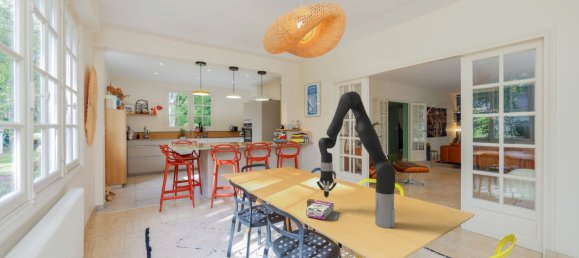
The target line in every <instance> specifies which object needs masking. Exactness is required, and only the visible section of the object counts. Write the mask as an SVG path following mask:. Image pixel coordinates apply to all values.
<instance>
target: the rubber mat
mask: <svg viewBox="0 0 579 258" xmlns="http://www.w3.org/2000/svg"><path fill="white" fill-rule="evenodd" d="M339 214H340V211H335V210H333V212H332V213H330V214H329V215H328V216H327V217H326V218H325V219H324V220H329V221H337V220H338V217H339ZM307 217H308V218H310V217H309V216H307ZM311 218H313V219H314V217H311Z"/></svg>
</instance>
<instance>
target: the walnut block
mask: <svg viewBox="0 0 579 258" xmlns="http://www.w3.org/2000/svg"><path fill="white" fill-rule="evenodd" d="M314 202H315V199H314V198H313V199H312V198H308V199H307V200H306V208H307V207H308V206H310V205H311V204H313V203H314Z"/></svg>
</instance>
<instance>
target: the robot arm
mask: <svg viewBox="0 0 579 258" xmlns="http://www.w3.org/2000/svg"><path fill="white" fill-rule="evenodd" d="M350 110H351V112H352V115H353V116H354V119H355V127H356V129H355V130H356V134H357V136H358V138H359V141H360V142H361V144H362V146H363V148H364V149H365V150H366V152H367V153H368V155H369V157H370V159H371V162H372V165H373V167H374V170H375V207H374V208H375V210H374V212H375V213H374V215H375V217H374V218H375V219H374V220H375V225H376V226H379V227H382V228H385V229H386V228H387V229H389V228H395V212H396V210H395V189H396V169H395V168H394V166H393V165H392V164H391V162H390V161H389V159H388V158H387V156H386V154H385V153H384V150H383V147H382V145H381V144H382V143H381V141H380V137H379V136H378V133H377V131H376V129H375V126H374V125H373V123H372V121H371V119H370V117H369V115H368V114H367V113H368V112H367V111H366V108H365V105H364V103H363V100H362V98H361V95H360V94H359V93H358V92H356V91H354V90H353V91H352V90H351V91H348V92H345V93H343V94H342V95H340V97H339V100H338V103H337V107H336V109H335V111H334V115H333V117H332V119H331V121H330V123H329V126H328V128H327V130H326V136H327V137H320V138H319V139H318V144H317V145H318V149H319V153H320V178H319V180H317V181H316V184H317V186H318V187H319V189H320V190H321V191H323V196H324V197H325V198H329V195H330V192H331V191H332V190H334V188H335V187H336V186H337V182H335V181H334V172H333V171H334V166H333V153H332V152H328V149H333V148H334V147H335V146H336V144H337V140H338V136H339V134H340V132H341V130H342V129H343V125H344V120H345V118H346V115H347V114H348V112H349V111H350Z"/></svg>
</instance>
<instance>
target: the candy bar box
mask: <svg viewBox="0 0 579 258" xmlns="http://www.w3.org/2000/svg"><path fill="white" fill-rule="evenodd" d="M334 206H335V204H334V203H333V202H328V201H324V200H315V201H314V203H313V204H311V205H310V206H308V207H307V206H306V207H305V208H306V210H305V211H306V212H305V215H306V217H308V216H309V217H308V218H312V217H314V218H315V219H319V220H326V219H325V218H326V217H327V216H328V215H329V214H330V213H332V212H333V211H335V210H334ZM314 218H313V219H314Z"/></svg>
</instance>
